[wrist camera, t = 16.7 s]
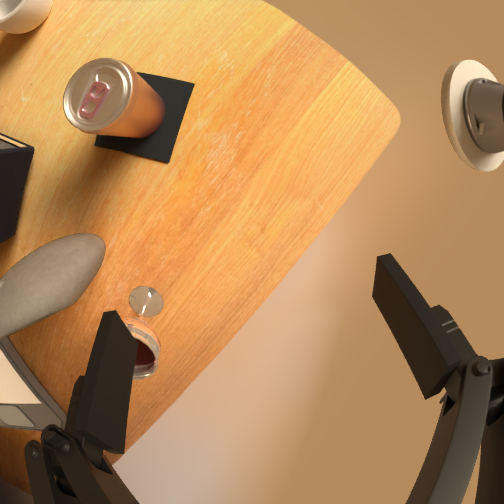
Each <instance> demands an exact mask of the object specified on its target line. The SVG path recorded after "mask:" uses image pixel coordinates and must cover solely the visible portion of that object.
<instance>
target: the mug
mask: <svg viewBox="0 0 504 504" xmlns="http://www.w3.org/2000/svg"><path fill="white" fill-rule="evenodd" d="M52 5H53V0H0V30H2V31H4V32H7V33H12V34H22V33H26V32H29V31H31V30H33V29H35V28H36V27H38V26H39V25H40V24H41V23H42V22H43V21H44V20H45V19H46V18H47V16H48V15H49V13H50V11H51V8H52Z"/></svg>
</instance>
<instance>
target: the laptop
mask: <svg viewBox="0 0 504 504" xmlns="http://www.w3.org/2000/svg"><path fill="white" fill-rule="evenodd" d="M66 419H67V416H66V414H65V413H64V412H63V410H62V409H61V408H60V407H59V406H58V405H57V403H56V402H55V401H54V400H53V399H52V398H51V396H50V395H49V394H48V393H47V392H46V390H45V389H44V388H43V387H42V385H41V384H40V383H39V382H38V380H37V379H36V378H35V376H34V375H33V374H32V372H31V371H30V370H29V368H28V367H27V365H26V364H25V363H24V361H23V360H22V358H21V357H20V355H19V354H18V352H17V351H16V349H15V348H14V346H13V345H12V343H11V342H10V340H9V339H8V337H4V338H2V339H0V427H5V428H13V429H22V430H33V431H43V429H44V428H45V427H46V426H48V425H50V424H55V425H57V426H58V427H60V428H61V429H63V430H64V429H65V424H66Z"/></svg>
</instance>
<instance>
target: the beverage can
mask: <svg viewBox="0 0 504 504" xmlns="http://www.w3.org/2000/svg"><path fill="white" fill-rule="evenodd" d="M63 108H64V112H65V115H66V117H67V119H68V121H69V122H70V123H71V124H72V125H73V126H74V127H76V128H78V129H79V130H81V131H83V132H85V133H88V134H96V135H110V136H122V137H132V138H143V137H146V136H149V135H151V134H152V133H154V132H155V131H156V130H157V129H158V128H159V127H160V126H161V124H162V122H163V120H164V117H165V104H164V102H163V100H162V98H161V97H160V96H159V95H158V94H157V93H156V92H155V91H154V90H153V89H152V88H151V87H150V86H149V85H148V84H147V83H146V82H145V81H144V80H143V79H142V78H141V77H140V76H139V75H138V74H137V73H136V72H135V71H134V70H133V69H132V68H131V67H130V66H129V65H128V64H126V63H124V62H122V61H120V60H116V59H112V58H99V59H95V60H92V61H90V62H88V63H86V64H85V65H83V66H82V67H81V68H79V69H78V70H77V71H76V72H75V73H74V75H73V76H72V77H71V79H70V80H69V82H68V84H67V86H66V89H65V92H64V97H63Z"/></svg>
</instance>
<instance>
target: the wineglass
mask: <svg viewBox="0 0 504 504" xmlns="http://www.w3.org/2000/svg"><path fill="white" fill-rule="evenodd" d="M129 303H130V306H131V308H132V309H133V310H134V311H135V312H136V313H137V314H139V317H138V318H132V317H125V318H121V319H122V321H123V322H124V324H125V325H126V327H127V328H128V329H129V331H130V332H131V334H132V335H133V337H134V338H135V340H136V341H137V342H138V349H137V355H136V361H135V367H134V373H133V380H143V379H145V378H148V377H150V376H151V375H153V374H154V373H155V372H156V370H157V367H158V359H159V357H160V355H161V344H160V341H159V338H158V335H157V333H156V332H155V330H154V329H153V328H152V327H151V326H150V325H149V324H147V323H146V322H145V321H142V320H143V316H144V317H153V316H155V315H158V314H159V313H160V312H161V310H162V308H163V300H162V297H161V295H160V294H159V293H158V292H157V291H156V290H155V289H153V288H151V287H147V286H141V287H137V288H135V289H134V290H133V291H132V292H131V294H130V296H129Z"/></svg>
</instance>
